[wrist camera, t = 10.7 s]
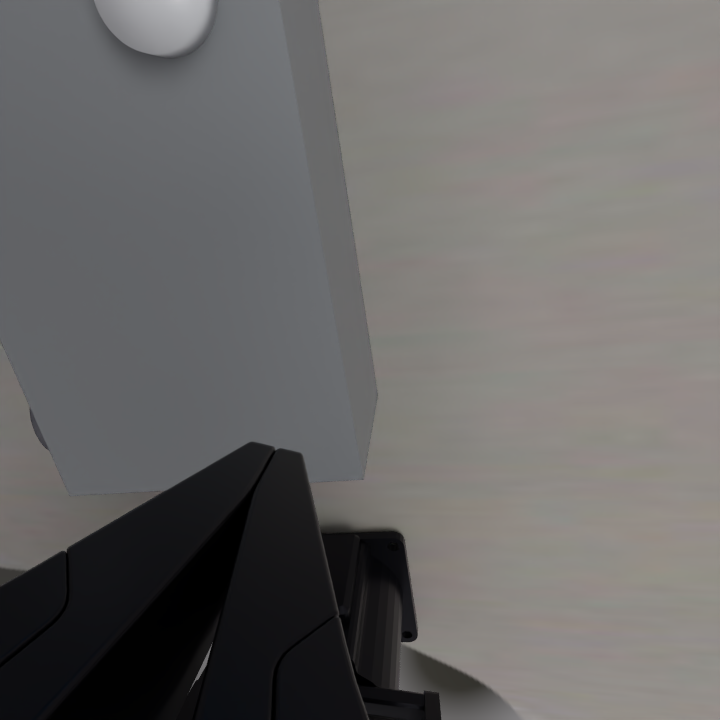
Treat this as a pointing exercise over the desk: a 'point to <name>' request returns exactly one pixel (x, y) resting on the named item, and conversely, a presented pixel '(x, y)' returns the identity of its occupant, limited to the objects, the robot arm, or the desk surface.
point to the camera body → (178, 240)
